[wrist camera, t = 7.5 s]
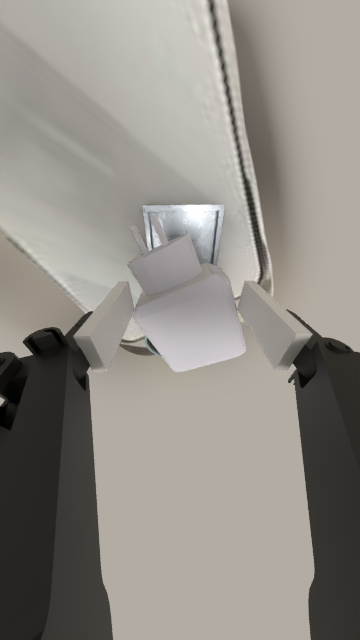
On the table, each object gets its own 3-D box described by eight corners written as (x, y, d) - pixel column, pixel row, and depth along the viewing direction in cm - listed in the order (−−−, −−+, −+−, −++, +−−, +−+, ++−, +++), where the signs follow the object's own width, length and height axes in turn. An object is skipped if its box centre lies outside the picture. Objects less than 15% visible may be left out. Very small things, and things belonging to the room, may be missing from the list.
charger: (198, 191, 12) (235, 326, 20) (104, 243, 14) (173, 346, 22) (207, 180, 8) (249, 353, 16) (76, 255, 10) (172, 374, 18)
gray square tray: (144, 205, 26) (142, 205, 24) (221, 205, 26) (224, 204, 24) (153, 279, 34) (152, 284, 32) (212, 279, 34) (214, 283, 32)
